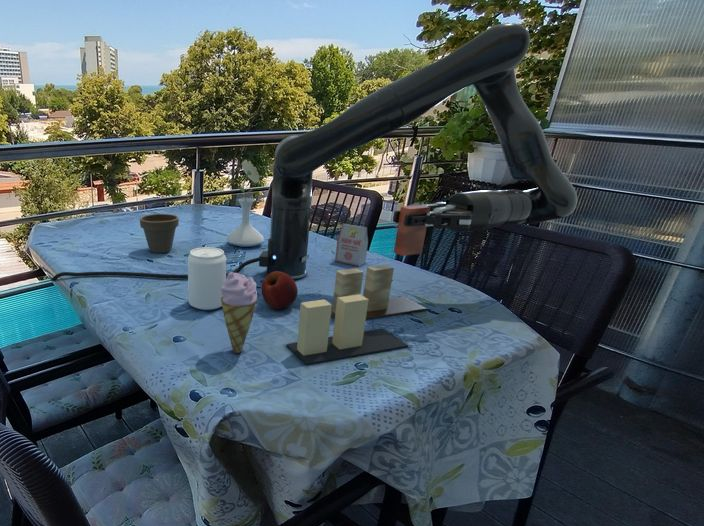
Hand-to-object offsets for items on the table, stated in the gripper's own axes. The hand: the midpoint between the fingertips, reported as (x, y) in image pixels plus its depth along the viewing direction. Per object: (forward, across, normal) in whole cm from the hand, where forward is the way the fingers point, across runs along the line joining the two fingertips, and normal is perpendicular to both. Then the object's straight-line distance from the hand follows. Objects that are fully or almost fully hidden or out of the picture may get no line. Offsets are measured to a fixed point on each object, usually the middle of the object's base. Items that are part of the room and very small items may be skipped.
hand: (400, 218), depth 87 cm
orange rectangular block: (-3, 0, +7) cm, 8 cm away
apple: (+18, -11, +20) cm, 29 cm away
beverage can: (+33, -17, +20) cm, 42 cm away
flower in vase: (+7, -57, +20) cm, 61 cm away
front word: (+15, +9, +20) cm, 26 cm away
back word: (0, -3, +20) cm, 20 cm away
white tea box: (-13, -32, +20) cm, 40 cm away
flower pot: (+33, -60, +20) cm, 71 cm away
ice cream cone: (+34, +4, +20) cm, 39 cm away
